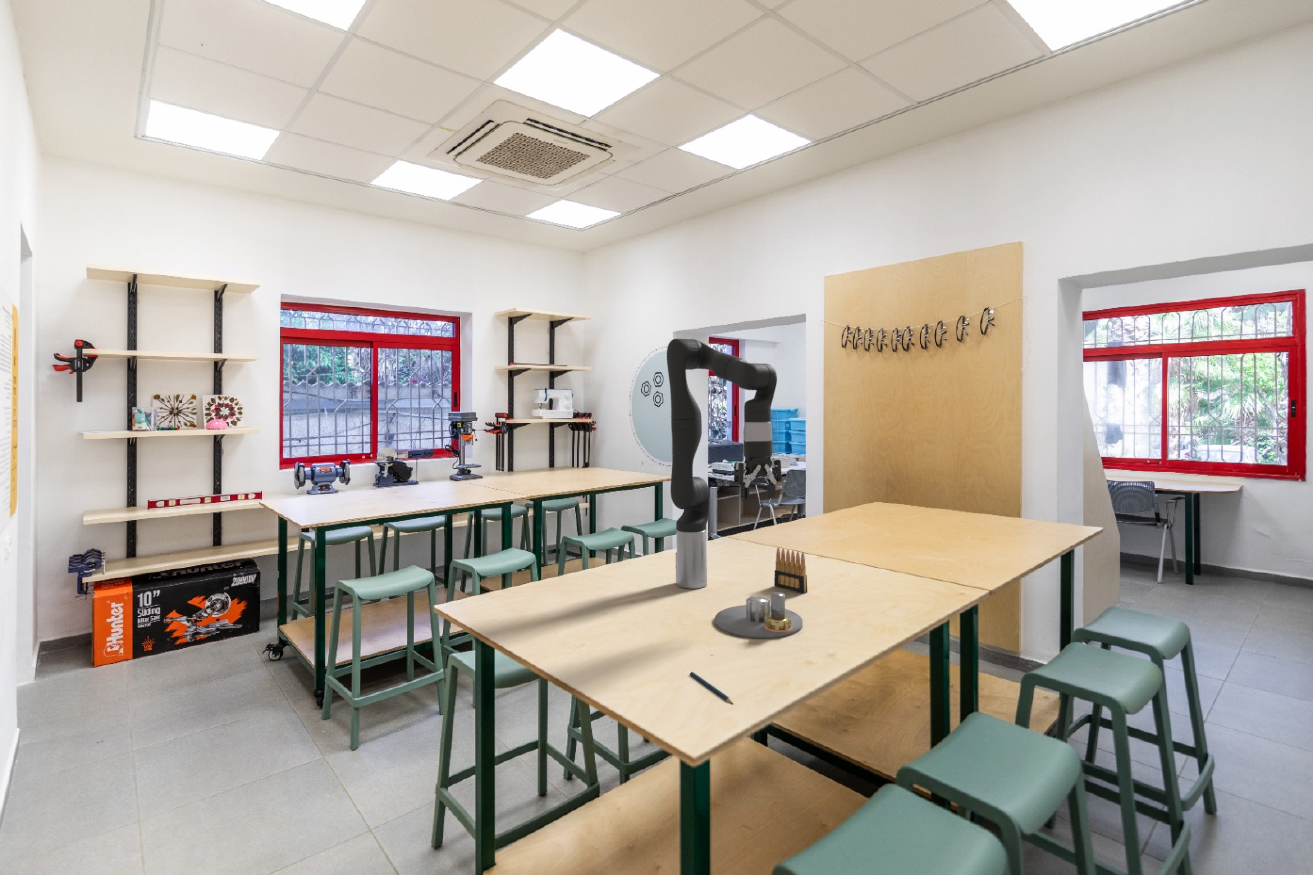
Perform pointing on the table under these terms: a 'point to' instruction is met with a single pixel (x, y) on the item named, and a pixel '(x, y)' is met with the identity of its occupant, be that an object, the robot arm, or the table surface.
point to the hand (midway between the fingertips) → (758, 499)
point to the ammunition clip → (790, 572)
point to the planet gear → (778, 613)
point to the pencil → (711, 687)
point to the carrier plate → (751, 628)
